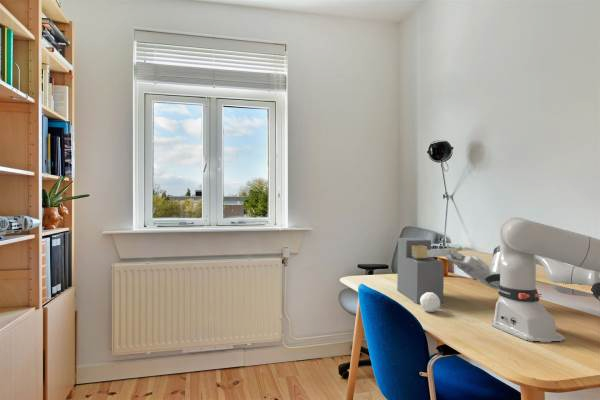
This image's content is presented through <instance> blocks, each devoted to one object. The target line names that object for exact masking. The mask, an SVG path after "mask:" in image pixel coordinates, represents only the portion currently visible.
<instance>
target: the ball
mask: <svg viewBox="0 0 600 400" xmlns="http://www.w3.org/2000/svg"><path fill="white" fill-rule="evenodd" d="M419 305H420V307H421V308H422V309H423V310H424V311H426V312H428V313H434V312H436V311H438V310H439V309H440V307H441V304H440V300H439V297H438V296H437V295H436V294H434V293H433V292H426V293H425V294H423V295H422V296H421V298H420V304H419Z"/></svg>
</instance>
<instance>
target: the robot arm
mask: <svg viewBox="0 0 600 400" xmlns="http://www.w3.org/2000/svg"><path fill="white" fill-rule="evenodd" d="M499 227H500V228H499V245H498V246H496V247H494V249H493V252H492V254H493V255H492V259H491V265H489V264H487V263H486V262H485V261H484V260H482V259H480V258H479V257H478V256H475V255H474V256H473V255H466V254H462V253H460V252H458V253H456V252H455V251H452V250H451V251H450V254H451V255H453V256H444V257H445V258H446V259H447V260H449V261H450V262H451V263H452V264H454V265H455V266H456V268H458V269H460V270H461V271H462V272H463V273H465V274H467V276H470V277H471V278H473V279H476V280H478V281H479V282H480V283H481V284H483V285H484V286H486V287H489V288H490V289H494V290H497V291H498V292H497V294H498V295H499V297H498V299H497V301H496V304H495V310H494V318H493V321H492V322H491V326H492V327H494V328H496V329H498V330H501V331H503V332H505V333H508V334H510V335H513V336H515V337H517V338H520V339H521V340H522V339H523V340H524V341H527V340H528V342H533V341H540V342H539V343H552V342H551V341H560V342H562V341H561V340H564V339H565V340H566V337H565V336H564V335H562V334H561V333H560V332H557V326H556V321H555V319H554V317H553V315H552V314H551V313H549V312H548V310H547V309H546V308H545V307H544V305H543V304H542V303H541V302H540V298H542V293H539V292H538V289H537V287H536V286H537V284H536V283H537V277H536V276H537V265H538V266H541V267H542V268H543V269H544V271H545V274H546V278H547V280H548V279H549V280H550V281H552V282H554V283H563V284H564V283H565V284H578V285H588V286H592V288H591V291H592V292H593V294H589V293H585V292H581V291H577V290H574V289H570V288H565V287H561V286H557V285H552V284H550V286H551V287H552V288H553V289H554V290H555V291H557V292H558V293H560V294H565V295H570V296H577V297H588V298H589V297H591V298H595V299H596V300H598V301H599V302H600V238H596V237H592V236H589V235H585V234H582V233H579V232H574V231H572V230H571V231H570V230H568V229H562V228H559V227H556V226H551V225H548V224H544V223H539V222H537V221H532V220H529V219H527V218H526V219H525V218H523V217H516V216H515V217H510V218H507V219H506V220H504V221H503V223H502V224H501V226H499ZM565 340H564V341H565ZM547 341H548V342H547Z"/></svg>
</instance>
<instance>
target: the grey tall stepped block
mask: <svg viewBox="0 0 600 400" xmlns="http://www.w3.org/2000/svg"><path fill="white" fill-rule="evenodd" d="M412 245H424V246H427V249H432V240H430V239H427V238H423V237H398V240H397V276H396V277H397V284H396V285H397V286H396V288H397V289H396V291H397V293H398V292H399V293H400V294H401V295H402V296H404V297H405V298H407V299H409V300H410V301H412V302H413V303H415V304H417V305H421V304H420V298H421V296H422V295H423V294H425V293H426V292H433V293H434V294H436V295H437V296H438V297H439V300H440V305H442V304H444V284H445V283H444V281H445V280H444V279H445V277H444V276H445V275H444V274H445V273H444V272H445V271H444V270H445V262H444V261H442V260H439V259H436V258H435V257H427V258H415V257H412Z"/></svg>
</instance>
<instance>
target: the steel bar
mask: <svg viewBox="0 0 600 400" xmlns="http://www.w3.org/2000/svg"><path fill="white" fill-rule="evenodd" d="M451 250H452V251H455V252H456V253H459V249H458V248H455V247H451V248H433V249H432V248H431V249H427V246H424V245H412V257H415V258H427V257H431V258H440V257H441V258H442V257H445V256H453V255H451V254H450V251H451Z"/></svg>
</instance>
